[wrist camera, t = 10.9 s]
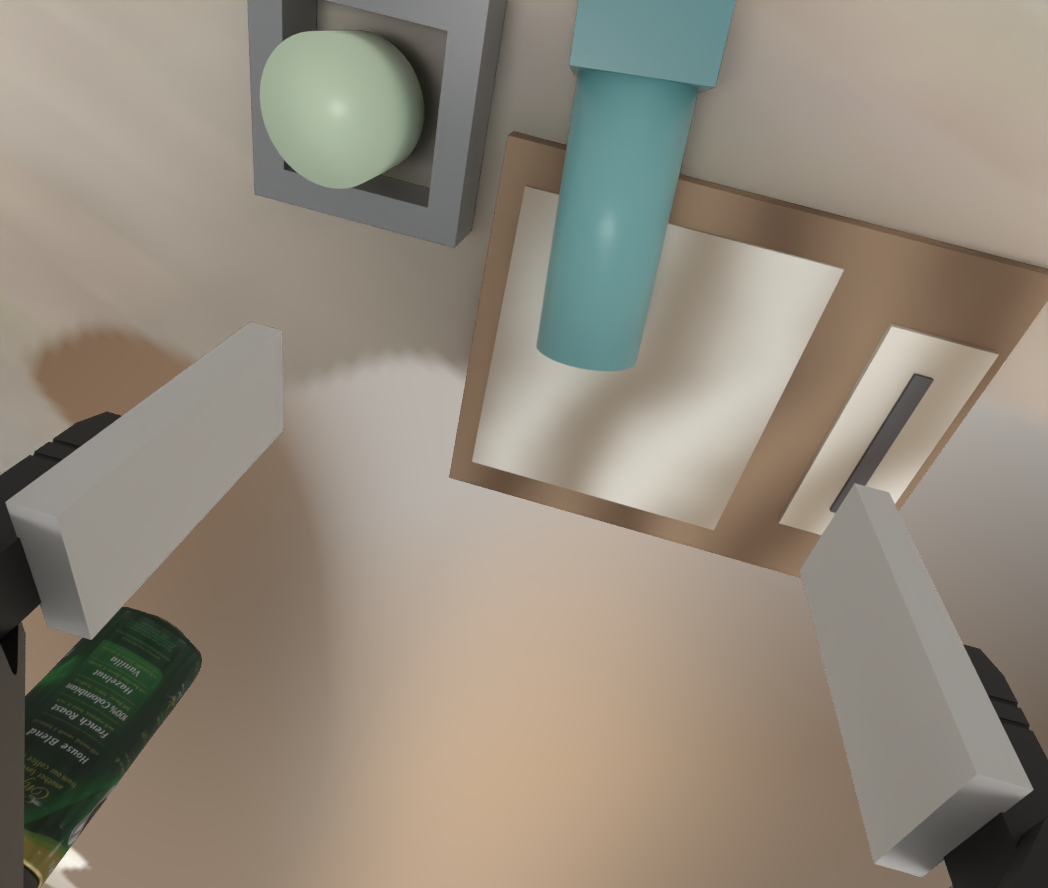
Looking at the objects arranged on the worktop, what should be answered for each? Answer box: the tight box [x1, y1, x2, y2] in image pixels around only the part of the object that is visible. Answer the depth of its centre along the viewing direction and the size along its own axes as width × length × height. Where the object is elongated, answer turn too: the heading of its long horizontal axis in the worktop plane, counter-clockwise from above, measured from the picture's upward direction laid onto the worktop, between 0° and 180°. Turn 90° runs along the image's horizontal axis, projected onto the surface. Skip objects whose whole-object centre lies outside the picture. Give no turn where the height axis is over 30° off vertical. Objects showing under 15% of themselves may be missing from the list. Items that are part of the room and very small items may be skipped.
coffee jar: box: [23, 607, 202, 888], centre depth 40 cm, size 10×8×19 cm
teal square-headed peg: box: [536, 0, 736, 371], centre depth 22 cm, size 4×4×11 cm
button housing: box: [247, 0, 507, 248], centre depth 23 cm, size 8×8×2 cm
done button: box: [260, 30, 424, 189], centre depth 21 cm, size 4×4×3 cm
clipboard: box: [449, 132, 1048, 578], centre depth 28 cm, size 20×16×2 cm
